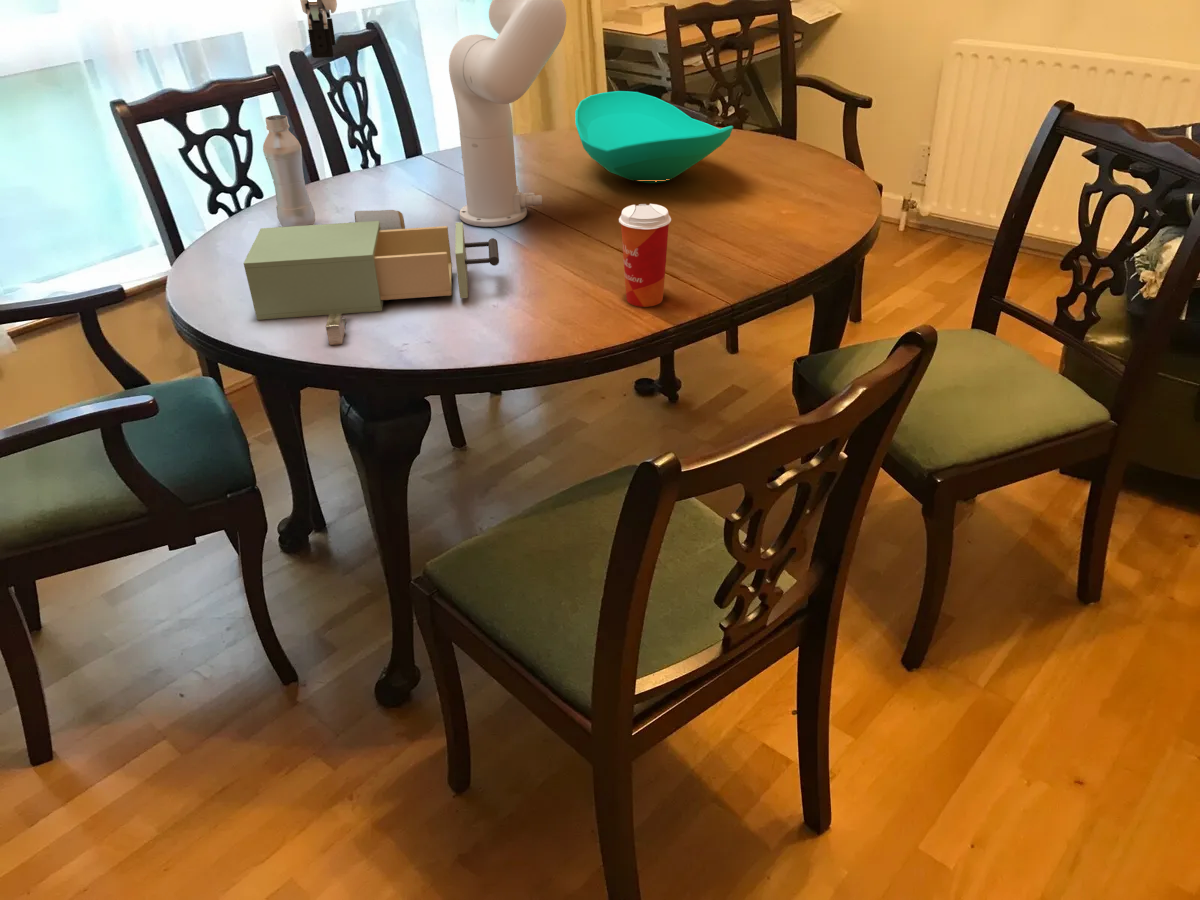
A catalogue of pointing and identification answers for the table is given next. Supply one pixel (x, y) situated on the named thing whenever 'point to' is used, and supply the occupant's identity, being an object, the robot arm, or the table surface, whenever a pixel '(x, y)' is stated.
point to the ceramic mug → (382, 218)
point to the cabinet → (314, 270)
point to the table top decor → (643, 135)
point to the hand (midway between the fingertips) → (324, 51)
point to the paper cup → (644, 252)
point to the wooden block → (335, 329)
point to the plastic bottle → (287, 173)
